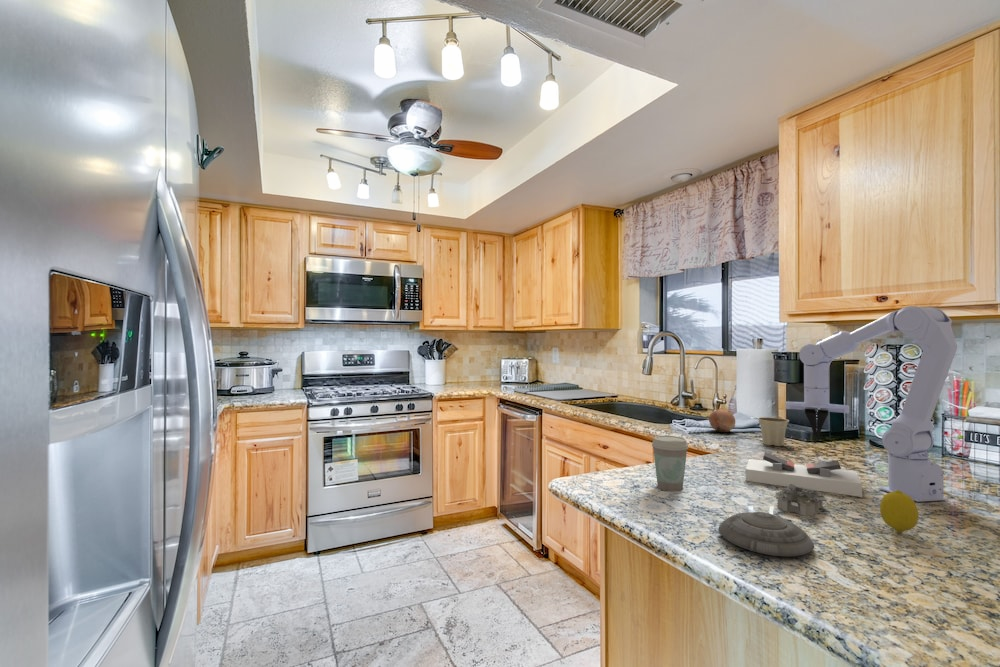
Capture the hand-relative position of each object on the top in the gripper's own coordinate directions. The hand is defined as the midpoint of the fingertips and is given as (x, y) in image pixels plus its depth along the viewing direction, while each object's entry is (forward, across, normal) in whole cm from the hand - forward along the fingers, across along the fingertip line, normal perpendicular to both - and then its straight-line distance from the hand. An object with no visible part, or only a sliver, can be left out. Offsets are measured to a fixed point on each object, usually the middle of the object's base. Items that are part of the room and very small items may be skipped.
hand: (816, 437), depth 131 cm
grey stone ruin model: (+10, -2, -35) cm, 37 cm away
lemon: (+10, +14, -41) cm, 44 cm away
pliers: (+10, +2, +7) cm, 12 cm away
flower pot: (+10, -13, +32) cm, 35 cm away
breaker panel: (+9, -3, -14) cm, 17 cm away
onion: (+10, -32, +46) cm, 56 cm away
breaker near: (+5, +2, -14) cm, 15 cm away
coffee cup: (+10, -29, -37) cm, 48 cm away
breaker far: (+5, -8, -14) cm, 17 cm away
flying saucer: (+10, -7, -60) cm, 61 cm away
